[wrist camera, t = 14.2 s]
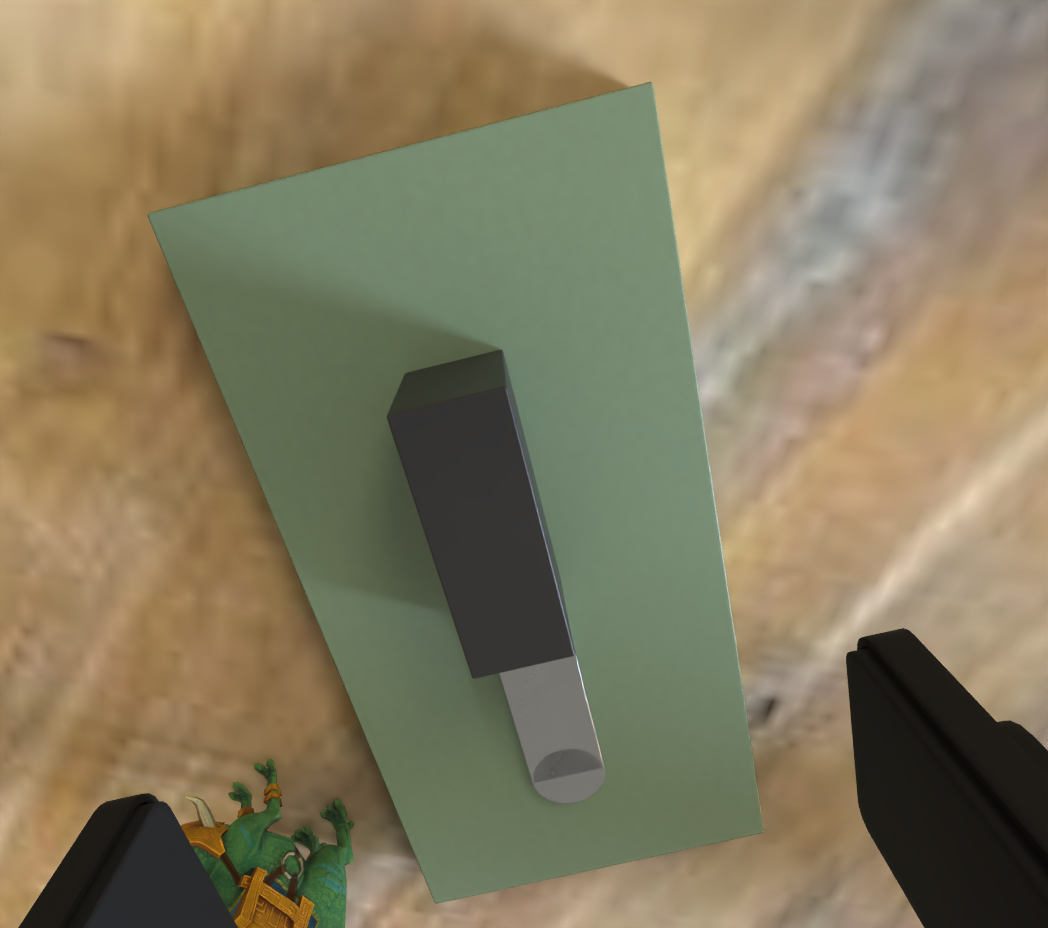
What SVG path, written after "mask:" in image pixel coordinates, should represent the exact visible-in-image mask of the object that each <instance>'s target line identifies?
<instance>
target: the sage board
mask: <svg viewBox="0 0 1048 928" xmlns="http://www.w3.org/2000/svg"><path fill="white" fill-rule="evenodd" d="M147 216H148V218H149V221H150V223H151V225H152V228H153V230H154V233H155V235H156V237H157V240H158V242H159V245H160V247H161V249H162V252H163V254H164V256H165V259H166V261H167V264H168V266H169V268H170V271H171V273H172V276H173V278H174V280H175V283H176V285H177V288H178V290H179V292H180V295H181V297H182V299H183V302H184V304H185V307H186V309H187V311H188V314H189V316H190V319H191V321H192V323H193V326H194V328H195V331H196V333H197V335H198V338H199V340H200V342H201V345H202V347H203V350H204V352H205V354H206V357H207V359H208V362H209V364H210V366H211V369H212V371H213V374H214V376H215V378H216V381H217V383H218V385H219V388H220V390H221V393H222V395H223V397H224V400H225V402H226V405H227V407H228V409H229V412H230V414H231V417H232V419H233V421H234V424H235V426H236V429H237V431H238V433H239V436H240V438H241V440H242V443H243V445H244V448H245V450H246V452H247V455H248V457H249V460H250V462H251V464H252V467H253V469H254V472H255V474H256V476H257V479H258V481H259V483H260V486H261V488H262V491H263V493H264V495H265V498H266V500H267V503H268V505H269V507H270V510H271V512H272V515H273V517H274V519H275V522H276V524H277V526H278V529H279V531H280V534H281V536H282V538H283V541H284V543H285V546H286V548H287V550H288V553H289V555H290V558H291V560H292V562H293V565H294V567H295V569H296V572H297V574H298V577H299V579H300V581H301V584H302V586H303V589H304V591H305V593H306V596H307V598H308V601H309V603H310V605H311V608H312V610H313V612H314V615H315V617H316V620H317V622H318V624H319V627H320V629H321V632H322V634H323V636H324V639H325V641H326V644H327V646H328V648H329V651H330V653H331V655H332V658H333V660H334V663H335V665H336V667H337V670H338V672H339V675H340V677H341V679H342V682H343V684H344V687H345V689H346V691H347V694H348V696H349V699H350V701H351V703H352V706H353V708H354V710H355V713H356V715H357V718H358V720H359V722H360V725H361V727H362V730H363V732H364V734H365V737H366V739H367V742H368V744H369V746H370V749H371V751H372V753H373V756H374V758H375V761H376V763H377V765H378V768H379V770H380V773H381V775H382V777H383V780H384V782H385V785H386V787H387V789H388V792H389V794H390V796H391V799H392V801H393V804H394V806H395V808H396V811H397V813H398V816H399V818H400V820H401V823H402V825H403V828H404V830H405V832H406V835H407V837H408V839H409V842H410V844H411V847H412V849H413V851H414V854H415V856H416V859H417V861H418V863H419V866H420V868H421V871H422V873H423V875H424V878H425V880H426V882H427V885H428V887H429V890H430V892H431V894H432V897H433V899H434V902H435V903H436V904H438V903H442V902H447V901H451V900H456V899H461V898H465V897H470V896H474V895H479V894H484V893H488V892H493V891H497V890H502V889H506V888H511V887H516V886H520V885H525V884H529V883H534V882H539V881H543V880H548V879H552V878H557V877H562V876H566V875H571V874H575V873H580V872H585V871H589V870H594V869H598V868H603V867H608V866H612V865H617V864H621V863H626V862H631V861H635V860H640V859H644V858H649V857H653V856H658V855H663V854H667V853H672V852H676V851H681V850H686V849H690V848H695V847H699V846H704V845H709V844H713V843H718V842H722V841H727V840H732V839H736V838H741V837H745V836H750V835H755V834H759V833H763V832H764V828H763V821H762V814H761V807H760V801H759V794H758V787H757V780H756V774H755V767H754V760H753V754H752V747H751V740H750V733H749V727H748V720H747V713H746V706H745V700H744V693H743V686H742V680H741V673H740V666H739V659H738V653H737V646H736V639H735V632H734V626H733V619H732V612H731V605H730V599H729V592H728V585H727V579H726V572H725V565H724V558H723V552H722V545H721V538H720V531H719V525H718V518H717V511H716V505H715V498H714V491H713V484H712V478H711V471H710V464H709V457H708V451H707V444H706V437H705V431H704V424H703V417H702V410H701V404H700V397H699V390H698V383H697V377H696V370H695V363H694V357H693V350H692V343H691V336H690V330H689V323H688V316H687V309H686V303H685V296H684V289H683V283H682V276H681V269H680V262H679V256H678V249H677V242H676V235H675V229H674V222H673V215H672V208H671V202H670V195H669V188H668V182H667V175H666V168H665V161H664V155H663V148H662V141H661V134H660V128H659V121H658V114H657V108H656V101H655V94H654V87H653V83H652V82H648V83H644V84H640V85H636V86H633V87H629V88H625V89H621V90H617V91H613V92H610V93H606V94H602V95H598V96H594V97H591V98H587V99H583V100H579V101H575V102H571V103H568V104H564V105H560V106H556V107H552V108H548V109H545V110H541V111H537V112H533V113H529V114H526V115H522V116H518V117H514V118H510V119H506V120H503V121H499V122H495V123H491V124H487V125H483V126H480V127H476V128H472V129H468V130H464V131H460V132H457V133H453V134H449V135H445V136H441V137H438V138H434V139H430V140H426V141H422V142H418V143H415V144H411V145H407V146H403V147H399V148H395V149H392V150H388V151H384V152H380V153H376V154H373V155H369V156H365V157H361V158H357V159H353V160H350V161H346V162H342V163H338V164H334V165H330V166H327V167H323V168H319V169H315V170H311V171H307V172H304V173H300V174H296V175H292V176H288V177H285V178H281V179H277V180H273V181H269V182H265V183H262V184H258V185H254V186H250V187H246V188H242V189H239V190H235V191H231V192H227V193H223V194H220V195H216V196H212V197H208V198H204V199H200V200H197V201H193V202H189V203H185V204H181V205H177V206H174V207H170V208H166V209H162V210H158V211H154V212H151V213H148V214H147ZM497 350H503V352H504V356H505V360H506V364H507V368H508V372H509V376H510V380H511V384H512V388H513V392H514V396H515V400H516V404H517V408H518V412H519V416H520V420H521V423H522V427H523V431H524V435H525V439H526V443H527V447H528V451H529V455H530V459H531V463H532V467H533V471H534V475H535V479H536V483H537V487H538V491H539V495H540V499H541V503H542V507H543V511H544V515H545V519H546V523H547V527H548V531H549V535H550V538H551V542H552V546H553V550H554V554H555V558H556V562H557V566H558V570H559V574H560V578H561V583H562V588H563V593H564V599H565V604H566V609H567V614H568V619H569V624H570V630H571V635H572V639H573V643H574V647H575V651H576V655H577V659H578V663H579V667H580V671H581V675H582V679H583V682H584V686H585V690H586V694H587V698H588V702H589V706H590V710H591V714H592V718H593V722H594V726H595V730H596V734H597V737H598V741H599V745H600V749H601V753H602V757H603V761H604V766H605V779H604V782H603V784H602V786H601V787H600V789H599V790H598V791H597V792H596V793H595V794H594V795H592V796H591V797H589V798H587V799H585V800H583V801H580V802H576V803H568V804H563V803H556V802H552V801H550V800H547V799H545V798H544V797H542V796H541V795H540V794H539V793H538V792H537V791H536V789H535V787H534V785H533V782H532V779H531V776H530V773H529V770H528V767H527V763H526V760H525V757H524V754H523V750H522V747H521V744H520V741H519V738H518V734H517V731H516V728H515V725H514V721H513V718H512V715H511V712H510V708H509V705H508V702H507V699H506V696H505V692H504V689H503V686H502V683H501V679H500V676H499V673H498V674H494V675H489V676H485V677H481V678H476V679H473V678H472V676H471V673H470V670H469V667H468V664H467V661H466V658H465V655H464V652H463V649H462V646H461V643H460V639H459V636H458V633H457V630H456V627H455V624H454V621H453V618H452V615H451V612H450V609H449V606H448V603H447V600H446V597H445V594H444V591H443V588H442V585H441V582H440V579H439V576H438V573H437V570H436V566H435V563H434V560H433V557H432V554H431V551H430V548H429V545H428V542H427V539H426V536H425V533H424V530H423V527H422V524H421V521H420V518H419V515H418V512H417V509H416V506H415V503H414V500H413V497H412V493H411V490H410V487H409V484H408V481H407V478H406V475H405V472H404V469H403V466H402V463H401V460H400V457H399V454H398V451H397V448H396V445H395V442H394V439H393V436H392V433H391V430H390V427H389V423H388V420H387V414H388V411H389V409H390V407H391V404H392V402H393V400H394V397H395V395H396V393H397V390H398V388H399V386H400V383H401V381H402V379H403V377H404V374H405V373H408V372H412V371H416V370H420V369H424V368H428V367H432V366H436V365H440V364H444V363H448V362H452V361H456V360H460V359H465V358H469V357H473V356H477V355H481V354H485V353H489V352H493V351H497Z"/></svg>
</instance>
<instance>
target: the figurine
mask: <svg viewBox="0 0 1048 928" xmlns="http://www.w3.org/2000/svg"><path fill="white" fill-rule="evenodd" d="M267 766H268V767H269V769H267V768H266V767H265V766H263V765H262V764H260V763H258V764H254V767H255V769H256V770H257V771H258V772H259V773H261V774H263V775H264V776H265V777H266V778H267V780H268V786H267V788H266V789H265V790H264V795H265V796H266V797H265V799H264V803H265V804H266V805H267V809H266V810H265V811H263V812H260V813H254V809H253V808H252V806H251V798H252V795H251V793H250V792H249V791H248V790H247V789H246V788H245V787H244V786H243V784H241V783H239V782H234V783H233V788H234V791H235V792H237V793H239V794H236V793H235V792H230V793H228V795H229V797H230V798H231V799H232V800H235V801H239V802H241V810H239V811H238V819H237V820H235V821H234V822H233V823H232V824H231V825H228V824H224V823H225V822H216V821H215V819H214V817H213V815H212V813H211V811H210V809H209V807H208V806H207V805H206V803H205V802H204V800H202V799H200V798H198V797H185V798H187V799H188V800H190V801H192V802H193V804H194V805H195V806H196V809H197V814H198V818H199V820H200V821H195V822H190V823H186V824H183V825H181V828H182V829H183V831H184V833H185V835H186V836H187V838H188V840H189V842H190V844H191V845H192V847H193V849H194V851H195V852H196V854H197V856H198V858H199V859H200V861H201V863H202V865H203V866H204V868H205V870H206V872H207V873H208V875H209V877H210V879H211V881H212V882H213V884H214V886H215V888H216V889H217V891H218V893H219V895H220V896H221V898H222V900H223V902H224V903H225V905H226V907H227V909H228V910H229V912H230V914H231V916H232V918H233V919H234V921H235V923H236V925H237V926H238V928H345V912H346V871H345V865H347V864H349V863H351V862H352V861H353V860H354V857H353V852H352V848H351V838H350V832H349V829H351V828H352V827H353V825H354V823H353V822H352V821H349V822H348V823H347V812H346V810H345V807H344V806H343V805H342V803H341V801H340V800H339V799H336V800H334V806H335V807H336V808H337V809H338V810H336V809H335V807H334V806H333V805H332V804H330V805H327V811H328V812H327V811H322V812H320V813H321V816H322V818H325V819H328V820H330V821H331V822H332V823H333V825H334V828H335V830H336V837H337V844H338V846H334V845H330V844H329V845H327V844H326V843H322V844H321V845H320V844H319V840H318V838H317V837H316V836H315V835H313V832H312V830H311V829H310V827H308V826H304V830H303V829H299V830H297V831H295V834H294V835H292V836H291V838H289V837H286V836H283V835H279V834H276V833H272V832H269V831H267V829H268V828H269V827H270V825H272V824H273V823H274V822H277V821H279V820H280V819H281V816H280V813H279V810H280V807H282V803H281V799H280V796H282V794H281V791H280V788H279V785H278V784H277V781H276V777H277V775H276V769H275V767H274V762H273V761H272V760H271V759H267ZM329 812H330V813H331V814H330V813H329ZM293 842H297V843H299V844H302V845H303V846H305V847H307V848H308V849H309V850H310V852H311V853H310V855H309V856H308V858H307V860H306V861H305V859H304V858H303V857H302V855H301V854H300V852H299V851H298V849H297V847H296V846H295V844H294V843H293Z"/></svg>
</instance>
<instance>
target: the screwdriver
mask: <svg viewBox="0 0 1048 928" xmlns="http://www.w3.org/2000/svg"><path fill="white" fill-rule="evenodd" d="M387 420H388V423H389V427H390V430H391V433H392V436H393V439H394V442H395V445H396V448H397V451H398V454H399V457H400V460H401V463H402V466H403V469H404V472H405V475H406V478H407V481H408V484H409V487H410V490H411V493H412V497H413V500H414V503H415V506H416V509H417V512H418V515H419V518H420V521H421V524H422V527H423V530H424V533H425V536H426V539H427V542H428V545H429V548H430V551H431V554H432V557H433V560H434V563H435V566H436V570H437V573H438V576H439V579H440V582H441V585H442V588H443V591H444V594H445V597H446V600H447V603H448V606H449V609H450V612H451V615H452V618H453V621H454V624H455V627H456V630H457V633H458V636H459V639H460V643H461V646H462V649H463V652H464V655H465V658H466V661H467V664H468V667H469V670H470V673H471V676H472V678H473V679H476V678H481V677H485V676H489V675H494V674H498V673H499V676H500V679H501V683H502V686H503V689H504V692H505V696H506V699H507V702H508V705H509V708H510V712H511V715H512V718H513V721H514V725H515V728H516V731H517V734H518V738H519V741H520V744H521V747H522V750H523V754H524V757H525V760H526V763H527V767H528V770H529V773H530V776H531V779H532V782H533V785H534V787H535V789H536V791H537V792H538V793H539V794H540V795H541V796H542V797H544V798H545V799H547V800H550V801H552V802H556V803H563V804H568V803H576V802H580V801H583V800H585V799H587V798H589V797H591V796H592V795H594V794H595V793H596V792H597V791H598V790H599V789H600V787H601V786H602V784H603V782H604V779H605V766H604V761H603V757H602V753H601V749H600V745H599V741H598V737H597V734H596V730H595V726H594V722H593V718H592V714H591V710H590V706H589V702H588V698H587V694H586V690H585V686H584V682H583V679H582V675H581V671H580V667H579V663H578V659H577V655H576V651H575V647H574V643H573V639H572V635H571V630H570V624H569V619H568V614H567V609H566V604H565V599H564V593H563V588H562V583H561V578H560V574H559V570H558V566H557V562H556V558H555V554H554V550H553V546H552V542H551V538H550V535H549V531H548V527H547V523H546V519H545V515H544V511H543V507H542V503H541V499H540V495H539V491H538V487H537V483H536V479H535V475H534V471H533V467H532V463H531V459H530V455H529V451H528V447H527V443H526V439H525V435H524V431H523V427H522V423H521V420H520V416H519V412H518V408H517V404H516V400H515V396H514V392H513V388H512V384H511V380H510V376H509V372H508V368H507V364H506V360H505V356H504V352H503V350H497V351H493V352H489V353H485V354H481V355H477V356H473V357H469V358H465V359H460V360H456V361H452V362H448V363H444V364H440V365H436V366H432V367H428V368H424V369H420V370H416V371H412V372H408V373H405V374H404V377H403V379H402V381H401V383H400V386H399V388H398V390H397V393H396V395H395V397H394V400H393V402H392V404H391V407H390V409H389V411H388V414H387Z"/></svg>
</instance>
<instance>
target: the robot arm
mask: <svg viewBox="0 0 1048 928" xmlns="http://www.w3.org/2000/svg"><path fill="white" fill-rule="evenodd" d="M846 664H847V676H848V688H849V700H850V711H851V723H852V735H853V747H854V759H855V771H856V783H857V795H858V803H859V808H860V812H861V815H862V818H863V821H864V823H865V825H866V828H867V830H868V832H869V833H870V835H871V837H872V839H873V840H874V842H875V844H876V846H877V847H878V849H879V851H880V852H881V854H882V856H883V858H884V859H885V861H886V863H887V864H888V866H889V868H890V870H891V871H892V873H893V875H894V876H895V878H896V880H897V882H898V883H899V885H900V887H901V888H902V890H903V892H904V894H905V895H906V897H907V899H908V900H909V902H910V904H911V906H912V907H913V909H914V911H915V912H916V914H917V916H918V918H919V919H920V921H921V923H922V924H923V926H924V928H1048V750H1047V749H1046V748H1045V747H1044V746H1043V745H1042V744H1041V743H1040V742H1039V741H1038V740H1037V739H1036V738H1035V737H1034V736H1033V735H1032V734H1030V733H1029V732H1028V731H1027V730H1026V729H1024V728H1023V727H1022V726H1021V725H1019V724H1017V723H1014V722H1012V721H1001V722H996V721H995V720H994V719H993V718H992V717H991V715H990V714H989V713H988V712H987V711H986V710H985V709H984V708H983V707H982V706H981V705H980V704H979V703H978V702H977V701H976V700H975V699H974V698H973V696H972V695H971V694H970V693H969V692H968V691H967V690H966V689H965V688H964V687H963V686H962V685H961V684H960V683H959V682H958V681H957V680H956V679H955V678H954V676H953V675H952V674H951V673H950V672H949V671H948V670H947V669H946V668H945V667H944V666H943V665H942V664H941V663H940V662H939V661H938V660H937V659H936V657H935V656H934V655H933V654H932V653H931V652H930V651H929V650H928V649H927V648H926V647H925V646H924V645H923V644H922V643H921V642H920V641H919V640H918V638H917V637H916V636H915V635H914V634H912V633H911V632H910V631H909V630H907V629H904V628H903V629H898V630H893V631H889V632H884V633H880V634H875V635H870V636H866V637H862V638H860V639H859V641H858V644H857V651H852V652H849V653H847V656H846ZM19 928H238V926H237V925H236V923H235V921H234V919H233V918H232V916H231V914H230V912H229V910H228V909H227V907H226V905H225V903H224V902H223V900H222V898H221V896H220V895H219V893H218V891H217V889H216V888H215V886H214V884H213V882H212V881H211V879H210V877H209V875H208V873H207V872H206V870H205V868H204V866H203V865H202V863H201V861H200V859H199V858H198V856H197V854H196V852H195V851H194V849H193V847H192V845H191V844H190V842H189V840H188V838H187V836H186V835H185V833H184V831H183V829H182V828H181V826H180V824H179V822H178V821H177V819H176V817H175V815H174V814H173V812H172V810H171V808H170V807H169V806H168V804H167V803H165V802H163V801H162V802H159V801H158V800H157V798H156V797H155V796H153V795H151V794H149V793H147V794H140V795H135V796H130V797H126V798H121V799H117V800H112V801H107V802H105V803H103V804H102V805H100V806H99V807H98V808H97V809H96V811H95V812H94V813H93V815H92V816H91V818H90V819H89V821H88V822H87V824H86V825H85V827H84V828H83V830H82V831H81V833H80V834H79V836H78V838H77V839H76V841H75V842H74V844H73V845H72V847H71V848H70V850H69V851H68V853H67V854H66V856H65V857H64V859H63V860H62V862H61V864H60V865H59V867H58V868H57V870H56V871H55V873H54V874H53V876H52V877H51V879H50V880H49V882H48V883H47V885H46V886H45V888H44V889H43V891H42V893H41V894H40V896H39V897H38V899H37V900H36V902H35V903H34V905H33V906H32V908H31V909H30V911H29V912H28V914H27V915H26V917H25V919H24V920H23V922H22V923H21V925H20V926H19Z"/></svg>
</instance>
